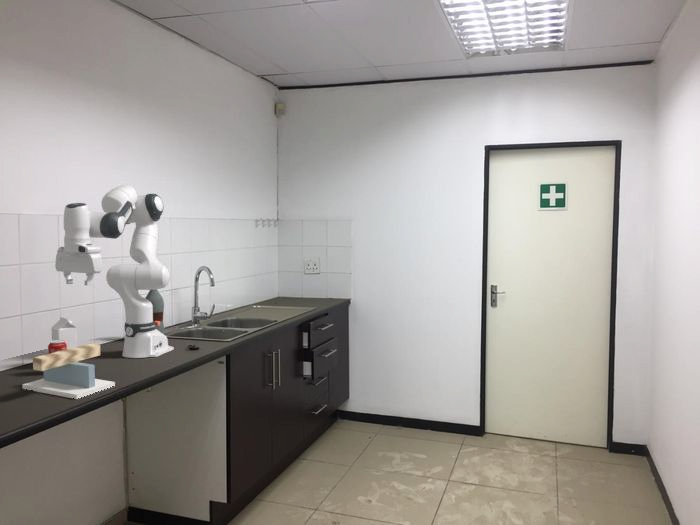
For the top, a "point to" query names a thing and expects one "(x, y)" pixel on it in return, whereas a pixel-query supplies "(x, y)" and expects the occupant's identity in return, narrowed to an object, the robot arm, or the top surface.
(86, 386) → the ridge stand
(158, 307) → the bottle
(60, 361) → the maple bar
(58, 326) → the milk carton
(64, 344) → the beverage can
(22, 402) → the top surface
